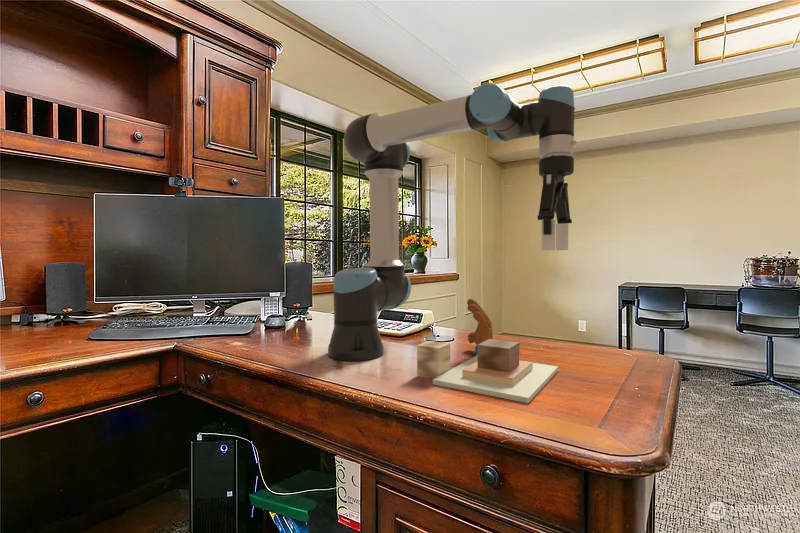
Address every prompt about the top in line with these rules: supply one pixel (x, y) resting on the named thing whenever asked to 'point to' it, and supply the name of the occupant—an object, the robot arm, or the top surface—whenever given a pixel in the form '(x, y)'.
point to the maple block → (433, 359)
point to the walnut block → (498, 355)
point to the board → (499, 379)
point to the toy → (479, 325)
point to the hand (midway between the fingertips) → (555, 250)
